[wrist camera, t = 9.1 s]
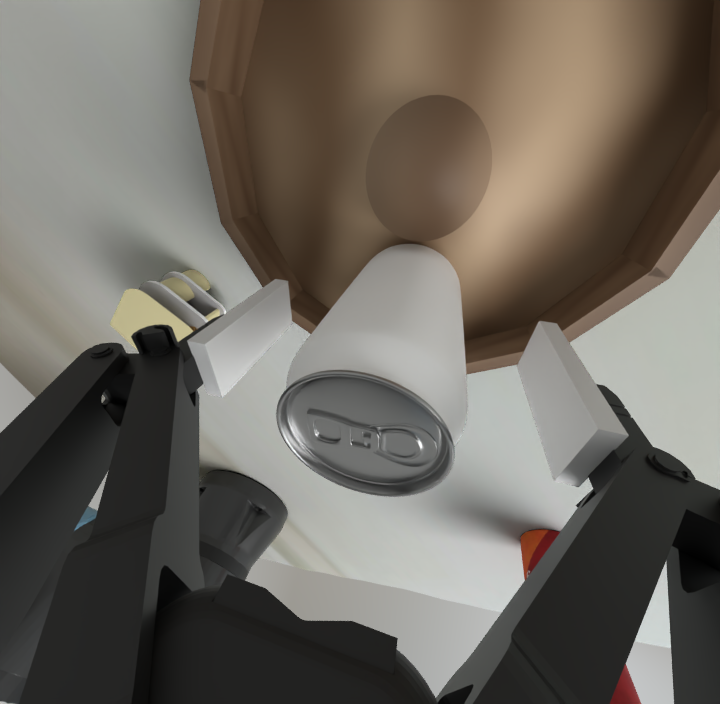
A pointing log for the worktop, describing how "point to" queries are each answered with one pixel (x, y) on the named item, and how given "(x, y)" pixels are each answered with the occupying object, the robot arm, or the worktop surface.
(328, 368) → the can
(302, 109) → the tray
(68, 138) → the worktop surface
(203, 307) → the yellow layered block
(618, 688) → the paper cup
